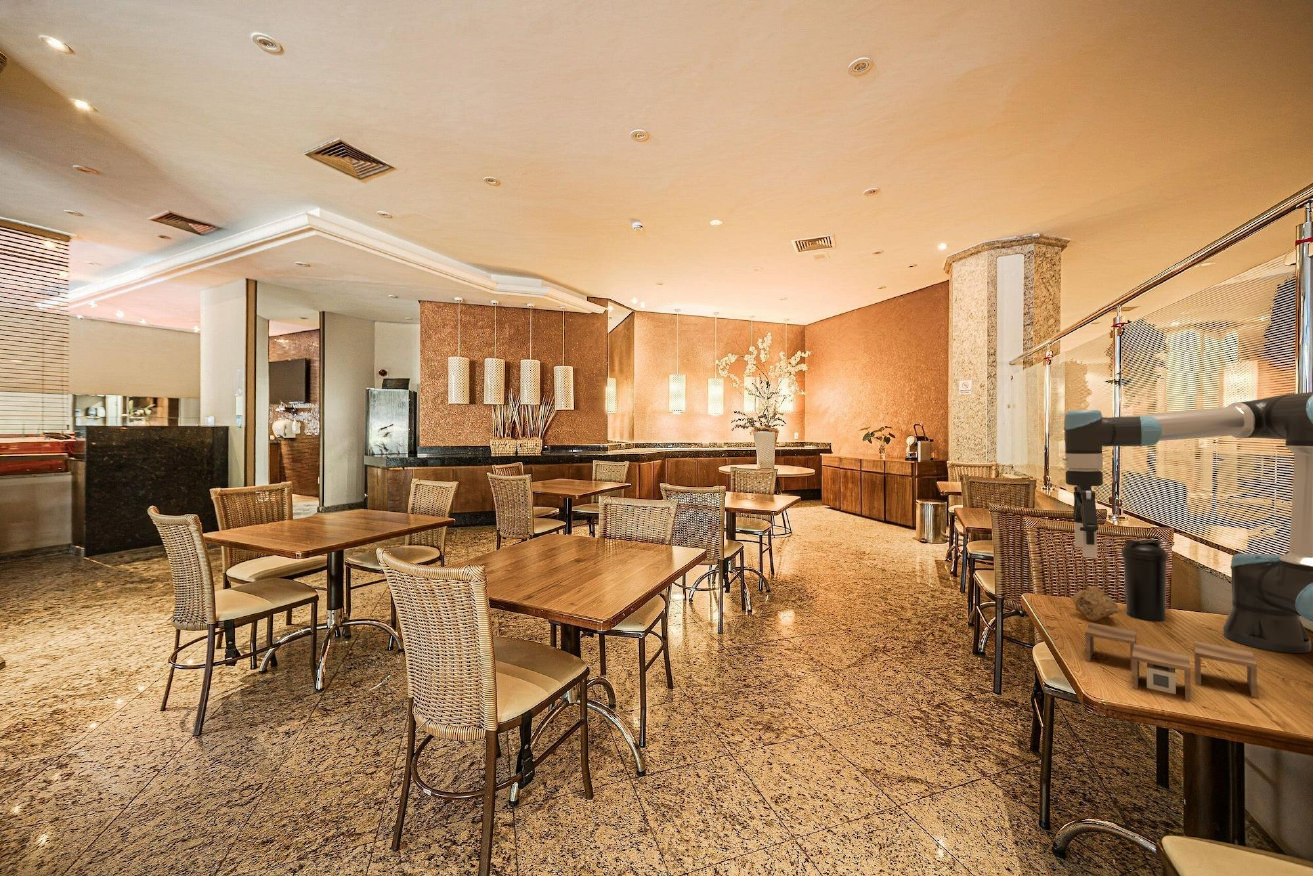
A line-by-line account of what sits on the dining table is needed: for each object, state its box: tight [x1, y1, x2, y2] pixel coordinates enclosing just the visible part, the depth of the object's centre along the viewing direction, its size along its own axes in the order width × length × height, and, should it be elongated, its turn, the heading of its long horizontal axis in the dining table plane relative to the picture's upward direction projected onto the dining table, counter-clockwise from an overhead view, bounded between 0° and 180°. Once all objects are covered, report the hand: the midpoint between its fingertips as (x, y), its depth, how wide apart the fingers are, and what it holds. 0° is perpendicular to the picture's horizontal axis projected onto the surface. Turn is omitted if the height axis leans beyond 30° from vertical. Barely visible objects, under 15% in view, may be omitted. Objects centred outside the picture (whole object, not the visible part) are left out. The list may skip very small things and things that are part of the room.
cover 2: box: [1131, 644, 1192, 702], centre depth 116 cm, size 9×9×7 cm
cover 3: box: [1193, 640, 1258, 698], centre depth 117 cm, size 9×9×7 cm
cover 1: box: [1084, 622, 1138, 671], centre depth 131 cm, size 9×9×7 cm
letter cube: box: [1146, 663, 1177, 695], centre depth 116 cm, size 5×4×5 cm
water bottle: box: [1121, 539, 1169, 623], centre depth 160 cm, size 10×10×23 cm
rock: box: [1070, 585, 1119, 622], centre depth 158 cm, size 12×10×10 cm
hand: (1085, 552), depth 137 cm, fingers open, 13 cm apart
